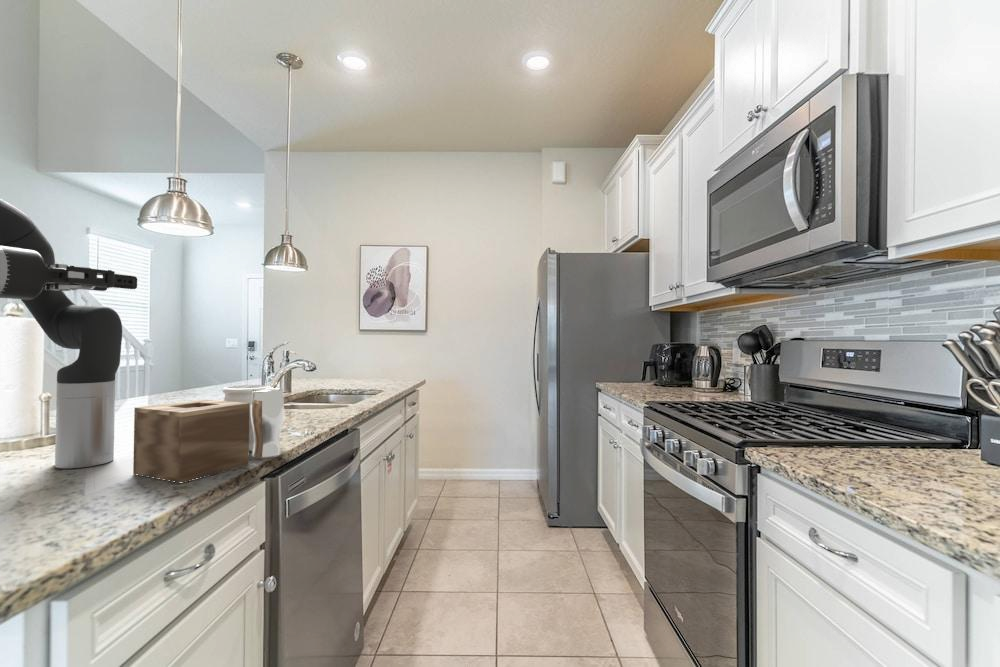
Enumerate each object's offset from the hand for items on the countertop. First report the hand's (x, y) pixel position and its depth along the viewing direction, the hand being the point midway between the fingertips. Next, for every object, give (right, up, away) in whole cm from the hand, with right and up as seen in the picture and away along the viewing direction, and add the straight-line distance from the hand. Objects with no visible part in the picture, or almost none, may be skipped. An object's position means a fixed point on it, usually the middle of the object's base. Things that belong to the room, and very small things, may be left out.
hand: (120, 284), depth 81 cm
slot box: (+4, -36, +13) cm, 39 cm away
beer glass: (+13, -37, +24) cm, 46 cm away
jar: (+5, -37, +31) cm, 48 cm away
